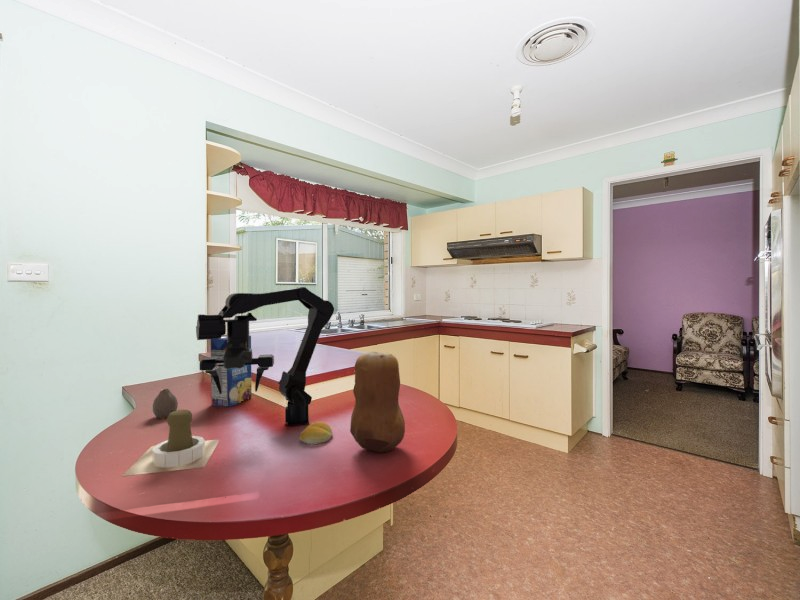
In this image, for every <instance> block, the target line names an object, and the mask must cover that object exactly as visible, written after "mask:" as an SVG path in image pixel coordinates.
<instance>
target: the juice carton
mask: <svg viewBox="0 0 800 600" xmlns="http://www.w3.org/2000/svg"><path fill="white" fill-rule="evenodd" d="M226 349H227V335H226V336H221V339H210V357H219V358H220V360H221V359H224V354H225V352H226ZM249 349H252V336H251V335H249ZM219 367H221V373H222V386H223V389H222V394H220V393H219V390H218V388H217V385H216V383H215V381H214V379H213V377H212V376H211V375H210V385H211V386H210V387H211V388H210V389H211V391H210V392H211V393H210V394H211V396H210V398H211V401H210V403H211V405H210V406H215V407H216V406H217V407H224V408H229V407H231V406H232V407H233V406H235V405H238V404H240V403H242V402H241V401H243V402H245V401H247V400H246V399H248V398H251V397H253V396H252V395H253V393H252V388H253V387H252V365H244V367H242V368H230V369H226V368H224V366H219ZM251 399H252V398H251ZM244 400H245V401H244ZM248 400H249V399H248ZM237 403H238V404H237Z"/></svg>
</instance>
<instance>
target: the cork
mask: <svg viewBox="0 0 800 600" xmlns="http://www.w3.org/2000/svg"><path fill="white" fill-rule="evenodd" d="M192 420H193V413H192V412H191V410H188V409H179V410H178V409H177V410H176V411H174V412H172V413H170V414H169V415H168V417H167V418H166V423H167V425H168V426H169V430H168V431H169V432H168V437H167V440H168V445H167V452H175V451H181V450H185V449H189V448H191V447H193V446H194V445H193V439H192V436H193V434H192V429H191V428H192V427H191V423H192Z"/></svg>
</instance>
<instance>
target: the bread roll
mask: <svg viewBox="0 0 800 600" xmlns="http://www.w3.org/2000/svg"><path fill="white" fill-rule="evenodd" d="M332 436H333V429H332V427H331V426H330V425H329V424H327V423H326V422H322V421H315V422H313V423H312V422H311V423H309V424H308V426H306V427H305V428H304V429H303V430H302V431H301V432H300V435H299V440H300V441H301V442H302V443H304V444H306V443H307V445H317V444H318V443H319V444H322V442H323V443H326V442H328V441H329V440H330V439H331V437H332ZM325 441H326V442H325Z"/></svg>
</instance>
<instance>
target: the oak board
mask: <svg viewBox="0 0 800 600" xmlns="http://www.w3.org/2000/svg"><path fill="white" fill-rule="evenodd" d="M220 441H221V439H212V440H210V439H209V440H205V453H204V455H203V456H202V457H201V458H199V459H198V460H196V461H194V462H192V463H188V464H185V465H182V466H177V467H168V468H166V467H165V468H163V467H156V466H155V465H154V464H153V455H152V449H153V448H154V447H155V446H156V445H151V446H150V448H148V449H147V450H146V451H145V452H144V453H143V454H142V455H141V457H139V458H138V459H137V460H136V462H134V463H133V464H132V465H131V467H129V468H128V469H127V470H126V471H125V472H124V473H123V474H122V477H128V476H131V477H132V476H137V475H138V476H139V475H145V474H146V475H147V474H156V473H163V472H165V473H166V472H172V471H173V472H175V471H181V470H188V469H189V470H190V469H199V468H205V467H206V465H207V464H208V462H209V460H210V458H211V456H212V455H213V453H214V451H215V449H216V447H217V446H218V444H219V442H220Z"/></svg>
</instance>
